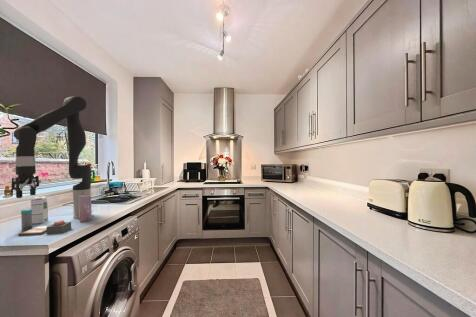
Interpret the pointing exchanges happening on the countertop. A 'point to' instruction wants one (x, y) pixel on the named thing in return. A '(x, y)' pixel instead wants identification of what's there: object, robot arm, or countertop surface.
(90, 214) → the tall pink box
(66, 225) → the button box
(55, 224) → the button
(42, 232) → the drawing board
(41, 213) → the syrup box
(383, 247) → the countertop surface
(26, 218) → the green lidded grey container
